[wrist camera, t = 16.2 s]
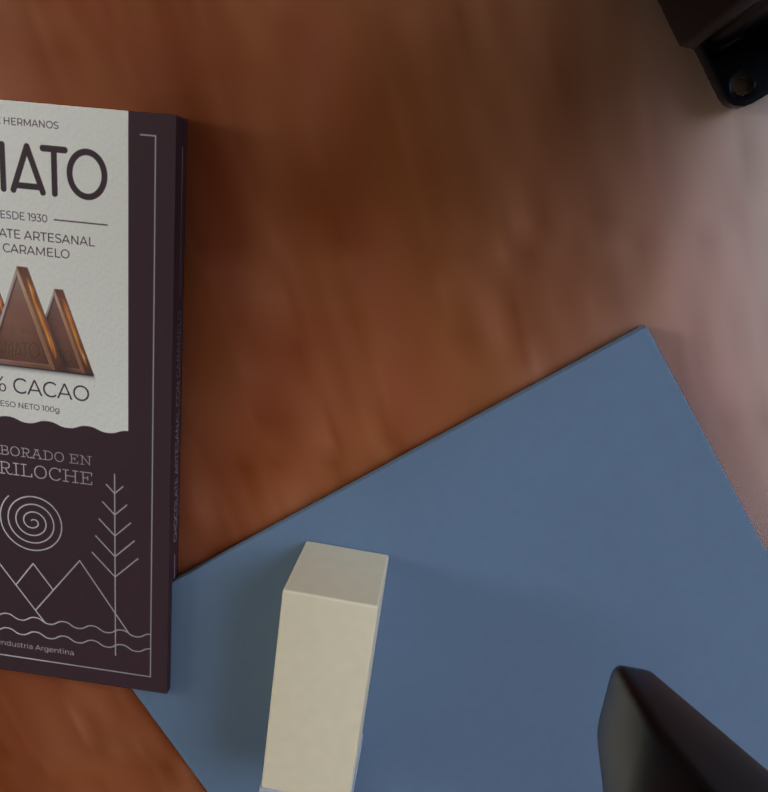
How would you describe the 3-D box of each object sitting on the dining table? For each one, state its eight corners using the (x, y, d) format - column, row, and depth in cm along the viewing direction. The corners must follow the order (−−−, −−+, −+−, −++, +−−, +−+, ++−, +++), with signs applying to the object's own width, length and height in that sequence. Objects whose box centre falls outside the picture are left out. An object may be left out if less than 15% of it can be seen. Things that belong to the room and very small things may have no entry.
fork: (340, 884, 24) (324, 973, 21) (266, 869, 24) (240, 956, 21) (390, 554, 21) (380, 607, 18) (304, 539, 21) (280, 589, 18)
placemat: (643, 324, 19) (647, 326, 18) (870, 751, 21) (877, 761, 21) (92, 621, 23) (86, 628, 23) (333, 950, 25) (332, 962, 25)
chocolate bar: (-89, 654, 23) (-140, 87, 19) (-68, 638, 24) (-113, 93, 20) (166, 693, 23) (176, 115, 18) (177, 675, 24) (189, 120, 19)
